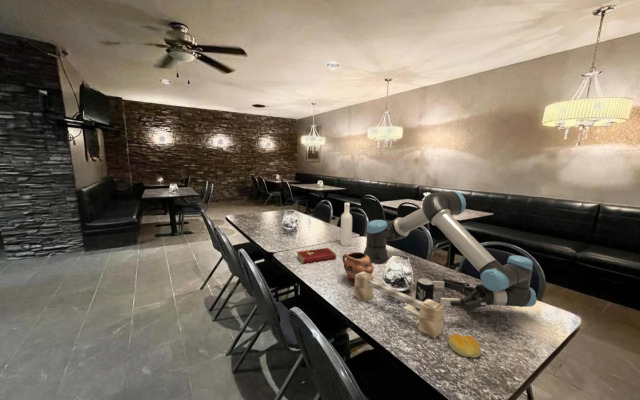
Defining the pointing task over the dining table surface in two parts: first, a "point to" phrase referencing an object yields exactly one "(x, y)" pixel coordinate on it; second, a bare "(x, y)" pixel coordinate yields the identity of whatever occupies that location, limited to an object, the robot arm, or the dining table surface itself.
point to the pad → (412, 309)
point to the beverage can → (424, 289)
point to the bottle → (346, 226)
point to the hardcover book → (316, 255)
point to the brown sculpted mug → (356, 265)
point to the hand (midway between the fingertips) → (433, 292)
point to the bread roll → (465, 345)
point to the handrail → (428, 309)
